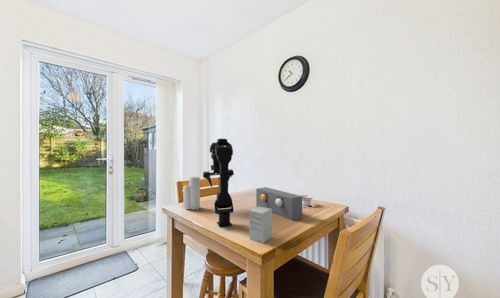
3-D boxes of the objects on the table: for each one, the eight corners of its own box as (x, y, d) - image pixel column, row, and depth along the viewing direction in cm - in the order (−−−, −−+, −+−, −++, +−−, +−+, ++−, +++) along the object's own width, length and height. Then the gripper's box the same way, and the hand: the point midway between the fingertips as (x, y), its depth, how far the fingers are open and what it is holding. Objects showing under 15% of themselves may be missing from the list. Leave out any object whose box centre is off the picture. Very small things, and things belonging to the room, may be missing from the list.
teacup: (300, 202, 152) (300, 193, 151) (317, 204, 145) (317, 195, 145) (295, 206, 141) (295, 197, 141) (313, 209, 135) (313, 199, 135)
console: (291, 220, 114) (291, 198, 114) (256, 206, 140) (256, 188, 140) (302, 217, 119) (302, 196, 119) (265, 204, 145) (265, 187, 145)
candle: (201, 207, 140) (201, 176, 140) (197, 210, 133) (196, 178, 133) (185, 206, 142) (185, 176, 142) (180, 209, 135) (179, 177, 135)
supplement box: (259, 233, 98) (259, 205, 98) (272, 237, 93) (272, 208, 93) (248, 238, 92) (248, 209, 92) (262, 243, 87) (262, 212, 87)
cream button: (280, 207, 119) (280, 199, 119) (275, 205, 122) (275, 197, 122) (283, 206, 120) (283, 199, 120) (277, 205, 123) (277, 197, 123)
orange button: (264, 202, 130) (264, 194, 130) (260, 200, 134) (260, 193, 134) (267, 201, 131) (267, 194, 131) (262, 200, 135) (262, 193, 135)
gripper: (231, 159, 143) (232, 181, 145) (202, 161, 139) (204, 184, 141) (233, 162, 132) (234, 186, 134) (202, 164, 129) (204, 189, 131)
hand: (219, 186), depth 135 cm, fingers open, 9 cm apart
